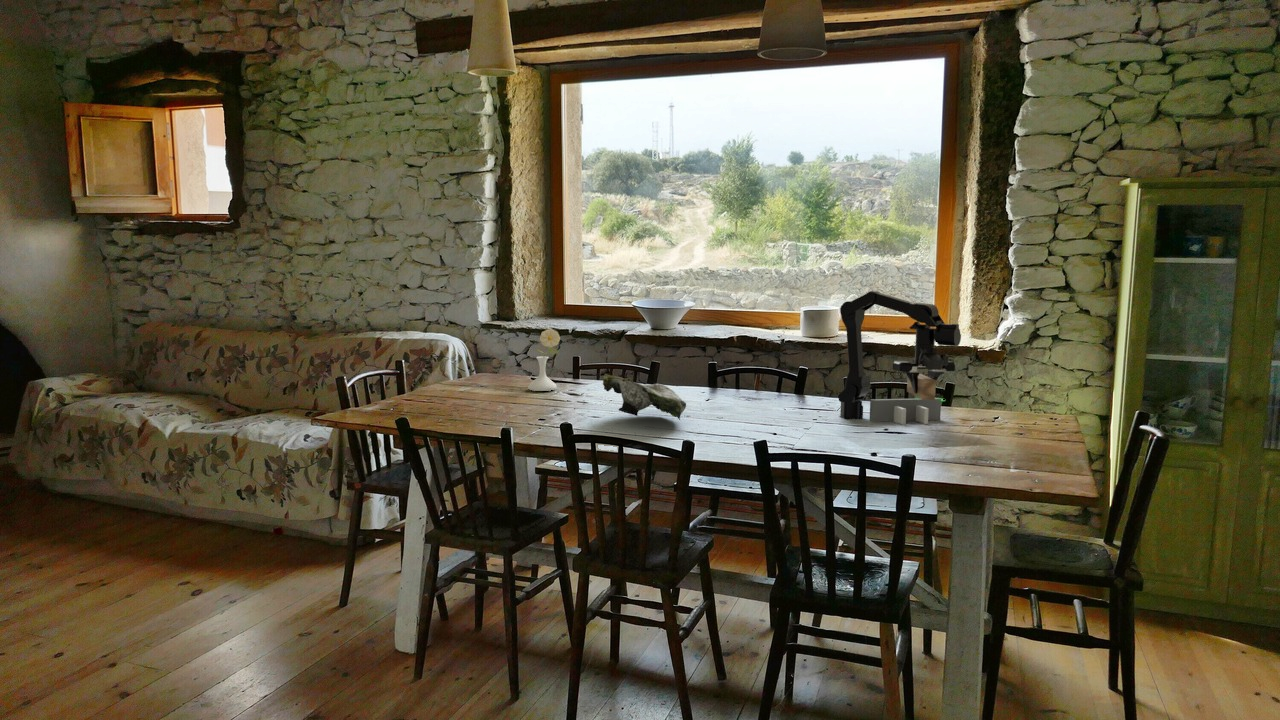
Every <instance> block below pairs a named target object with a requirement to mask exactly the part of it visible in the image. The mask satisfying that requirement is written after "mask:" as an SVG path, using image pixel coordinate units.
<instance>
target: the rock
mask: <svg viewBox="0 0 1280 720" xmlns="http://www.w3.org/2000/svg"><path fill="white" fill-rule="evenodd" d="M602 386H603V387H604V388H603V390H605V391H606V392H609V391H611V390H612V389H613V391H614V392H615V393H616V394H621V397H622V406H621V407H618V408H619V409H618V411H619V412H622V413H625V414H628V415H633V416H636V417H637V416H638V413H639V411H642V410H645V409H646V408H649V407H650V406H653V407H655V409H656V410H659V411H660V412H662V413H667V414H670V415H671V416H672V417H674V418H677V419H678V420H679V421H680V420H681V415H682V414H683V412H684V411H685V410H686V407H687V402H686V401H684V400H683V399H682V398H681V397H680V396H679V395H678V394H677V393H676V392H675V391H674V390H673V389H671V388H670V387H668V386H666V385H664V384H663V383H662V384H661V383H653V384H641V383H639V382H638V383H637V382H635V381H633V379H632V378H631V377H627V378H626V377H624V378H623V377H620V376H617V375H611V374H608V373H604V375H603V381H602Z"/></svg>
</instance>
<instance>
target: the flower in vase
mask: <svg viewBox="0 0 1280 720" xmlns="http://www.w3.org/2000/svg"><path fill="white" fill-rule="evenodd" d="M560 340H561V336H560V334H559V332H558V331H557V330H554V329H551V328H549V329H544V331H542V332H541V334H540V336H539V341H540V343H541V345H542V346H544V347H546V348H547V347H548V348H547V350H546V352H544V351H543V350H541V349H538V348H535V349H536V351H538V352H539V353H542V354H544V355H543V356H536V360H537V361H538V366H539V372H538V373H539V374H538V376H537V377H536V378H535V379H534V380H533V381H532V382H531V383H530V384H529V385H528V387H527V388H528V390H529V391H531V390H532V392H535V391H549V392H552V391H551V390H553V391H555V390H557V387H558V386H557V384H556V383H555V382H554V381H552V380H551V379H550V378H549V377H548V376H547V373H546V366H547V365H546V364H547V362H548V359H549V358H550V357H549V356H546V355H547V354H548V352H549V353H550V355H555V354H559V353H560V352H559V350H558V349H556V348H555V347H557V346H558V345H559V342H560Z"/></svg>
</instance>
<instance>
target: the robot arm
mask: <svg viewBox="0 0 1280 720" xmlns="http://www.w3.org/2000/svg"><path fill="white" fill-rule="evenodd" d="M875 305H876V306H880V307H882V308H886V309H889V310H893V311H896V312H898V313H901V314H905V315H906V316H908V317H909V318H911V319H913V320H915V321H914V323H912V324H911V326H909V327H908V328H909V330H915V346H913V350H914V351H915V352H914V358H913V359H912V362H911V361H907V360H894V362H893V363H892V370H893V371H896V372H899V373H900V372H902V373H904V374H906V376H907V379H908V378H909V380H910V382H911V385H912V388H913V390H914V393H917V390H918V375H919V374H920V372H919V371H918V370H927V377H929V378H932V379H934V380H936V382H937V381H938V379H939V377H940V376H941V375H943V374H945V371H946V372H956V368H957V367H956V366H957V365H956V363H955V362H954V361H950V359H949V355H948V354H947V353H941V354H938V350H937V347H935V346H936V345H935V344H936V343H937V345H938V346H945V347H946V346H949V347H959V345H960V342H961V340H962V334H961V330H960V327H959V326H960V325H959V324H958V323H953V324H949V323H945V322H944V320H943V319H942V316H940V313H939V310H938V307H937V305H935V304H932V303H925V302H924V303H923V302H913V301H909V300H905V299H902V298H899V297H895V296H892V295H889V294H885V293H882V292H880V291H878V290H873V291H871V290H870V291H868V292H867V293H865V294H863V295H861V296H858V297H857V298H855V299H853V300H849V301H844V302H843V303H842V305H841V306H840V308H839V310H840V317H841V320H842V323H843V324H844V327H845V330H846V341H847V343H846V344H847V359H848V361H847V362H848V373H847V376H846V378H845V386H844V389H843V390H842V391H841V392H840V393H839V394H838V395H837V398H838V401H839V402H840V413H839V415H838V417H839V418H841V419H843V420H864V405H863V401H864V400H865V397H866V396H867V395H868V394H869V393H870V388H872V384H871V374H868V375H867V374H866V371H865V370H864V359H863V358H864V357H863V354H864V353H863V341H862V325H863V322H864V319H865V313H866V311H868V310H870V309H871V308H873V306H875ZM943 370H945V371H943Z"/></svg>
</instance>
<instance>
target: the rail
mask: <svg viewBox="0 0 1280 720" xmlns="http://www.w3.org/2000/svg"><path fill="white" fill-rule="evenodd" d="M936 387H937V381H936V380H934V379H932V378H929V377H928V375H924V374H922V373H919V375H918V390H917V393H914V390H913V388H912V385H911V382H910V380H909V378H908V377H907V385H906V393H909V394H911V395H913V396H914V397H915V396H916V397H918V398H920V399H930V400H935V398H936Z"/></svg>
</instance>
